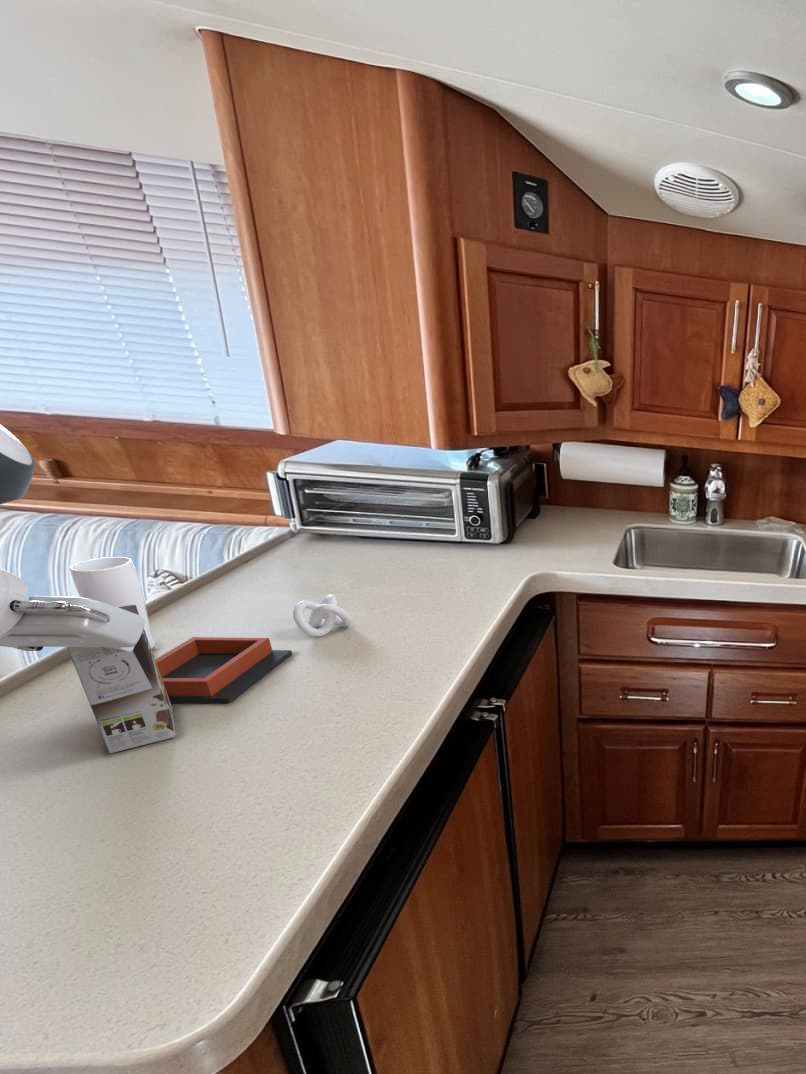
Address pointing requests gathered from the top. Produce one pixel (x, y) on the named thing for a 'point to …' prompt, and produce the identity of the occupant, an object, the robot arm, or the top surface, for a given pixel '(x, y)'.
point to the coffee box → (125, 693)
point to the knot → (321, 616)
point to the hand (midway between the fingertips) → (83, 645)
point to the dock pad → (216, 668)
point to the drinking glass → (111, 585)
